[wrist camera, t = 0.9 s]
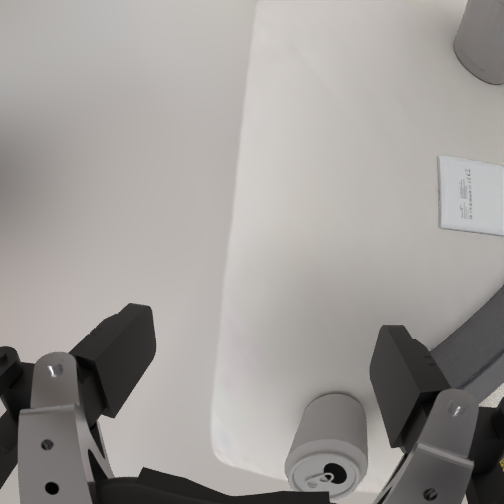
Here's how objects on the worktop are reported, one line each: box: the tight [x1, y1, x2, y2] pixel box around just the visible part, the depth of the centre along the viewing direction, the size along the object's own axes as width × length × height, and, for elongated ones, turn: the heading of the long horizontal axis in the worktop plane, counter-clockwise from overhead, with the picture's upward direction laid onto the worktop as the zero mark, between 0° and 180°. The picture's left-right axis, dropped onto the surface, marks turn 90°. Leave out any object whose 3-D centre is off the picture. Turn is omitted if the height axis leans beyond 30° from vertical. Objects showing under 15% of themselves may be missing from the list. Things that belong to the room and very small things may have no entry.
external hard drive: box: [437, 155, 504, 236], centre depth 25 cm, size 2×8×12 cm
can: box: [285, 394, 368, 501], centre depth 24 cm, size 8×8×12 cm
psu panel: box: [400, 286, 504, 453], centre depth 20 cm, size 22×4×11 cm, turn 127°
